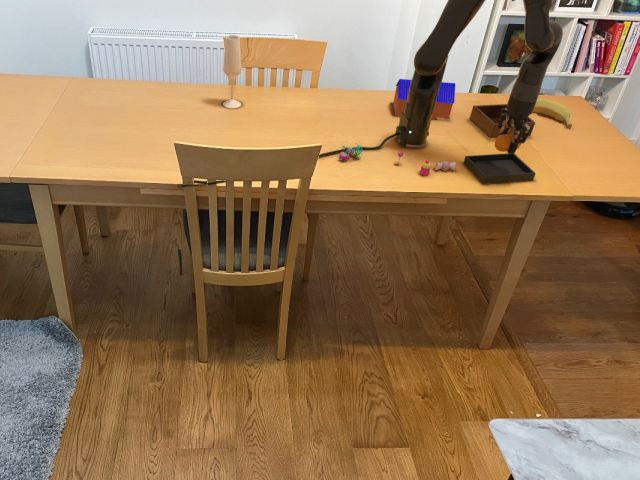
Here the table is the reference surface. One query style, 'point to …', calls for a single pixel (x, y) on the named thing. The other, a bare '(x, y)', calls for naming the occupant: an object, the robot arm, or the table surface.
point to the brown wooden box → (491, 119)
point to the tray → (499, 168)
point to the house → (442, 101)
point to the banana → (553, 110)
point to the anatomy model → (350, 152)
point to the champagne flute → (232, 65)
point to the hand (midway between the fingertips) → (505, 148)
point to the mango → (504, 142)
